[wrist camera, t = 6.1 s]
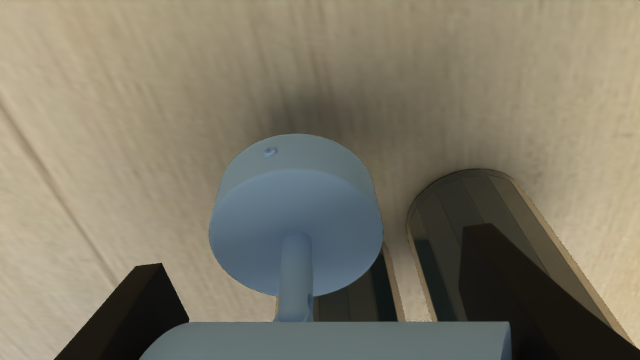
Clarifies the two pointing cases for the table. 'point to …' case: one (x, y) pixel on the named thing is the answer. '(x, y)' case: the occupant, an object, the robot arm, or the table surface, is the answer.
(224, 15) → the table surface
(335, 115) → the table surface
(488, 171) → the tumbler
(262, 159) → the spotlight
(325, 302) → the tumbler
